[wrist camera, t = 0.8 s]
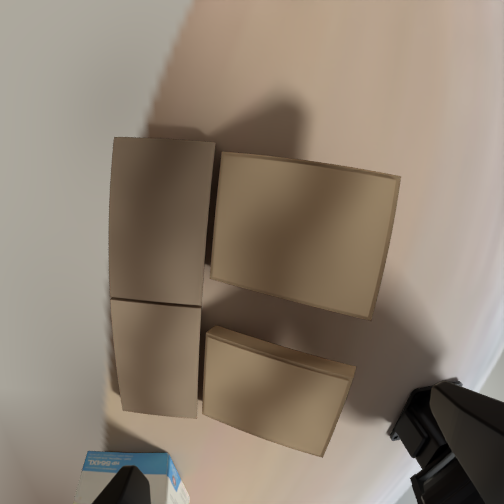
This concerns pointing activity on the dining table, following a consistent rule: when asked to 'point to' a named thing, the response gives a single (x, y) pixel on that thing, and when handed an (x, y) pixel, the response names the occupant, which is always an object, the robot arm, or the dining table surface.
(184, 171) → the tan wooden tile
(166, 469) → the ink box
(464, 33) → the dining table surface
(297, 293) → the plank front
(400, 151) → the dining table surface
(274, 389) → the plank rear
